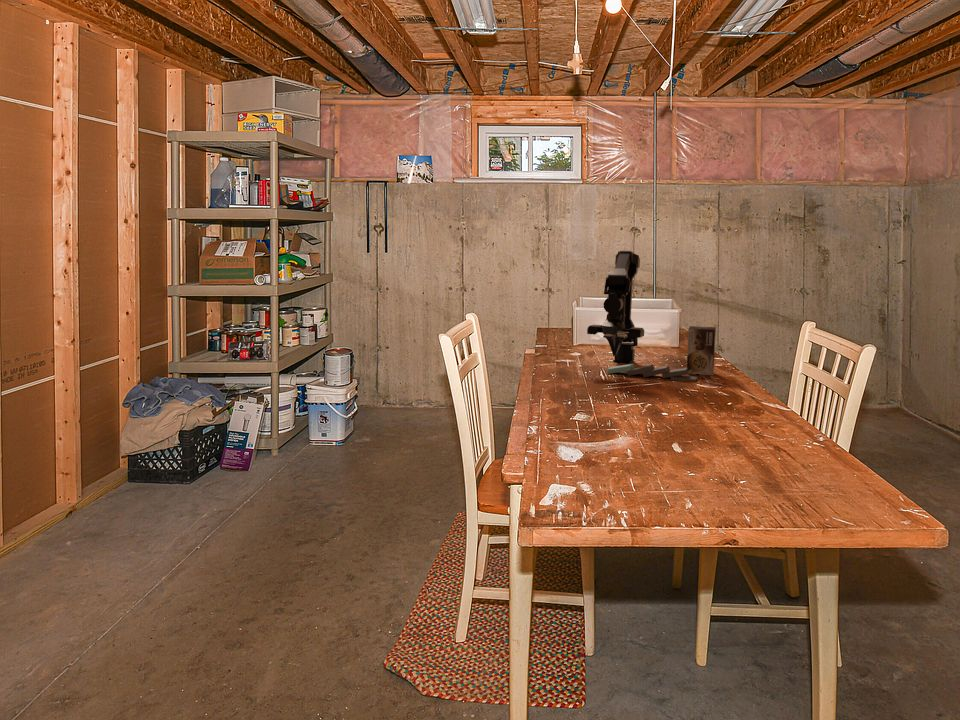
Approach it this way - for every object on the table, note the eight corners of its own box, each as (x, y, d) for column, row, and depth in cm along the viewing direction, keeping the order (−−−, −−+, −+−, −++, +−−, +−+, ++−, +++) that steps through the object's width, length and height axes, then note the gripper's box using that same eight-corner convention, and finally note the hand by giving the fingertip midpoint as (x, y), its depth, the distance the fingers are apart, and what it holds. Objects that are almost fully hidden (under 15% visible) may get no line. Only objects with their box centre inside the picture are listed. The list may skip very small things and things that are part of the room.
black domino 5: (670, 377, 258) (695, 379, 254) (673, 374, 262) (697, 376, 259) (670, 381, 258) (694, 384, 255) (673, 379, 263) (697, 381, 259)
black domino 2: (627, 371, 264) (649, 366, 260) (630, 368, 268) (653, 364, 264) (628, 375, 264) (650, 371, 260) (632, 373, 268) (654, 368, 265)
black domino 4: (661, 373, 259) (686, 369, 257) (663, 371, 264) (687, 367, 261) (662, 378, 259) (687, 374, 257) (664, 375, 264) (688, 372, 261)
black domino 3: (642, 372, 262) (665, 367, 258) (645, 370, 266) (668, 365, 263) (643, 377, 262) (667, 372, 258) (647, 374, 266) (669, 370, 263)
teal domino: (607, 369, 267) (629, 365, 263) (611, 366, 271) (633, 363, 268) (608, 373, 267) (630, 370, 263) (612, 371, 272) (634, 368, 268)
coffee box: (713, 372, 271) (716, 326, 268) (713, 376, 265) (716, 329, 262) (687, 370, 274) (689, 325, 271) (685, 374, 268) (688, 327, 265)
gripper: (582, 311, 262) (581, 357, 265) (636, 314, 254) (634, 361, 257) (593, 308, 272) (591, 352, 275) (645, 311, 264) (643, 356, 266)
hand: (614, 355), depth 268 cm, fingers closed
